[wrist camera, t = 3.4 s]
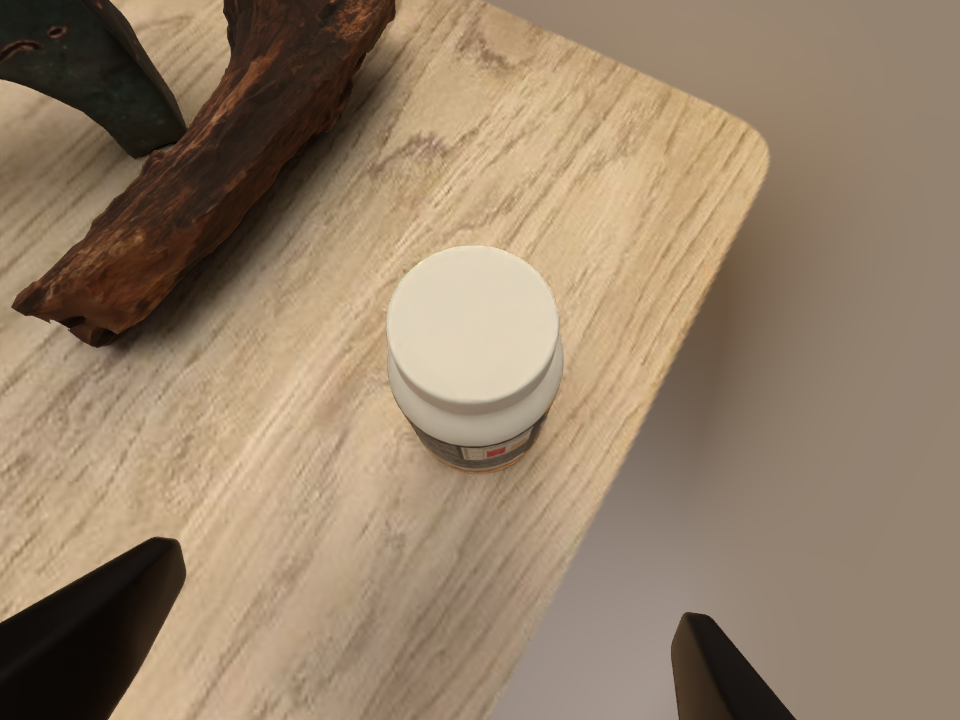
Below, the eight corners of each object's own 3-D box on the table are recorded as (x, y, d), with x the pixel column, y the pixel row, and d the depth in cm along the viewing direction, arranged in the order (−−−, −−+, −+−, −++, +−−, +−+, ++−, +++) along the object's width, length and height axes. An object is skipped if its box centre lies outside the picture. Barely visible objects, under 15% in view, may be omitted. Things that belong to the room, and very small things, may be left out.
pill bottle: (563, 446, 22) (620, 377, 13) (439, 495, 22) (405, 460, 12) (513, 333, 24) (531, 202, 15) (397, 376, 23) (339, 266, 14)
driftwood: (295, 16, 31) (233, -153, 24) (417, 52, 30) (393, -113, 22) (63, 337, 24) (-129, 245, 17) (210, 399, 23) (75, 331, 16)
